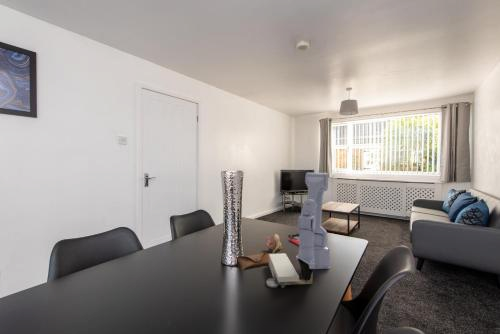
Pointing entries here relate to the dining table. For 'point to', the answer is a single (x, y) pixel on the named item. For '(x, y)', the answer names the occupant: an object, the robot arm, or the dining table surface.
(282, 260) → the cream cabinet
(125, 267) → the dining table surface
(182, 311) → the dining table surface
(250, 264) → the sunglasses case
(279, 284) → the wood scraper
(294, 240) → the red board with handle
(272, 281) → the steel puck
